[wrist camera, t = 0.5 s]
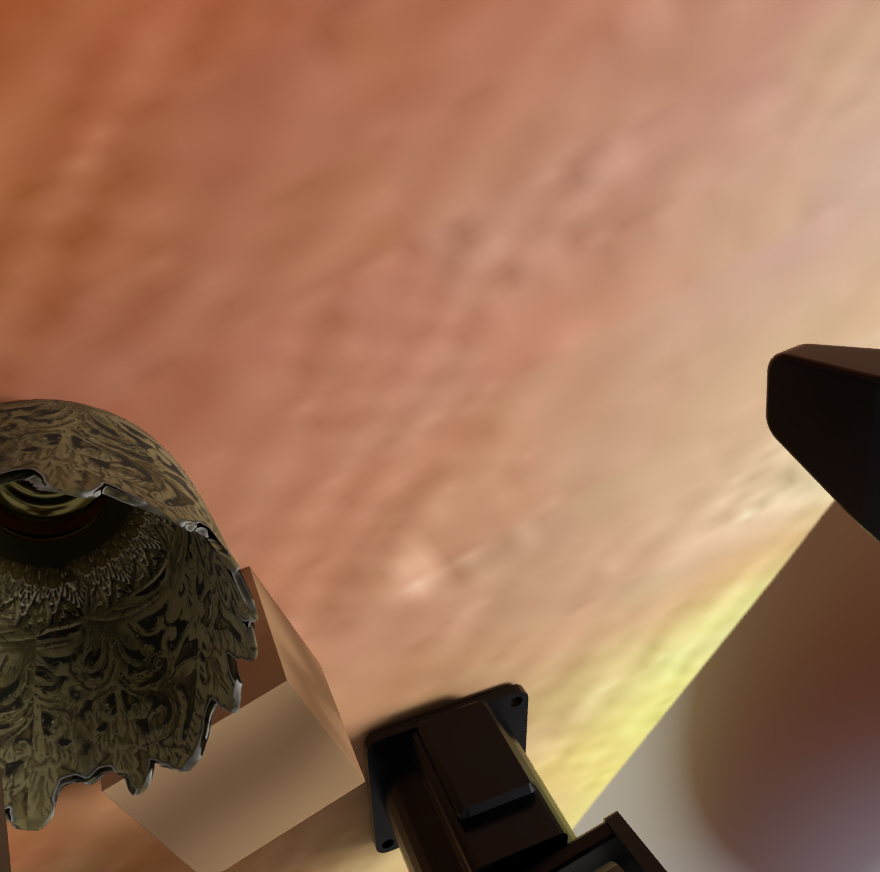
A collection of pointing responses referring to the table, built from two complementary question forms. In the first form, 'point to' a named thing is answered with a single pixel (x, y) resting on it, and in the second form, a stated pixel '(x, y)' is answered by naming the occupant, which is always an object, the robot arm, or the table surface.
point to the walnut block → (252, 757)
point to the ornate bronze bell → (107, 607)
